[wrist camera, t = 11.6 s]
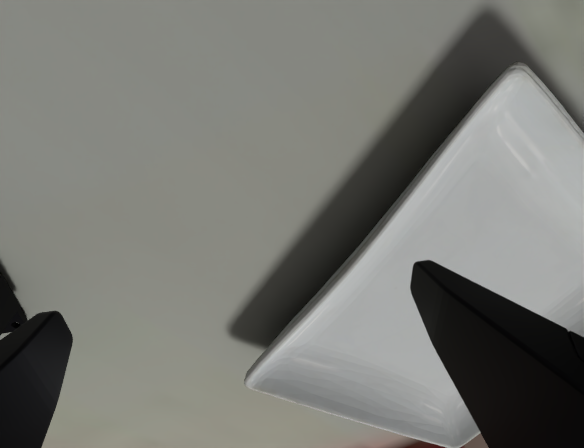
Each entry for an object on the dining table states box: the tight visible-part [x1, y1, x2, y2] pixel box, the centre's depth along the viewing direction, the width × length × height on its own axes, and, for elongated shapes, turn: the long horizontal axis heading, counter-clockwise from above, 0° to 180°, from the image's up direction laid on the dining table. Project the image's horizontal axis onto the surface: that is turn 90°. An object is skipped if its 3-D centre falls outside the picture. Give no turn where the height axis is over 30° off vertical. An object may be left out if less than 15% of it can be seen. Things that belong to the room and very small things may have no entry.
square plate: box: [244, 62, 584, 448], centre depth 29 cm, size 27×27×4 cm
